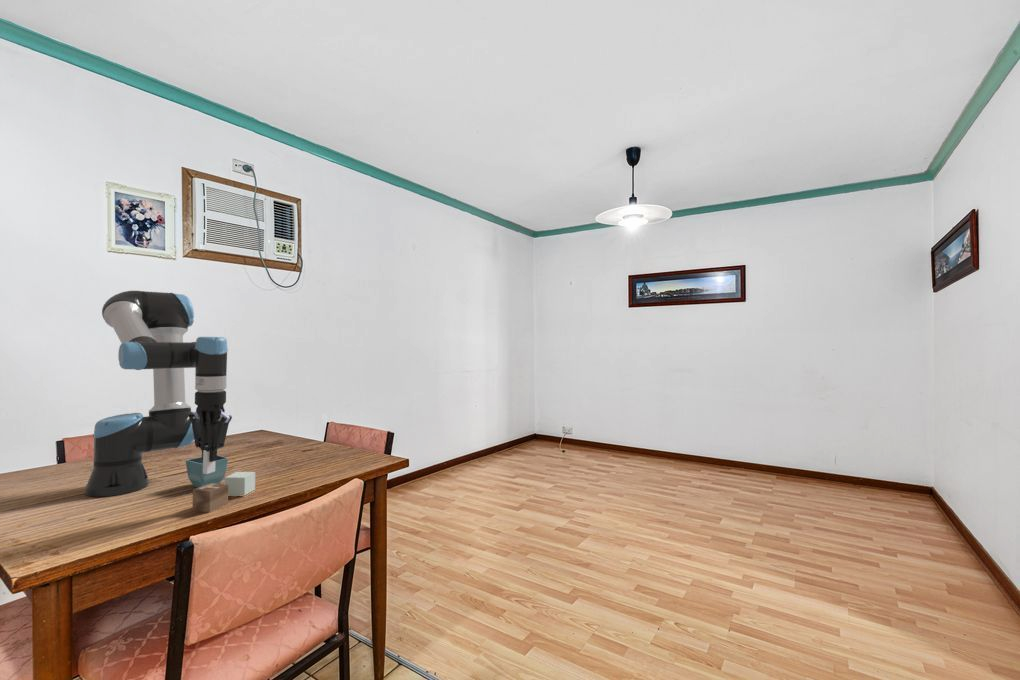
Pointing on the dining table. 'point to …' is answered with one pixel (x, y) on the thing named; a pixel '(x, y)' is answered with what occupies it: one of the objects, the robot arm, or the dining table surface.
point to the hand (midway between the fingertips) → (209, 472)
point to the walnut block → (210, 497)
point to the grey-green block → (240, 483)
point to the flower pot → (202, 479)
